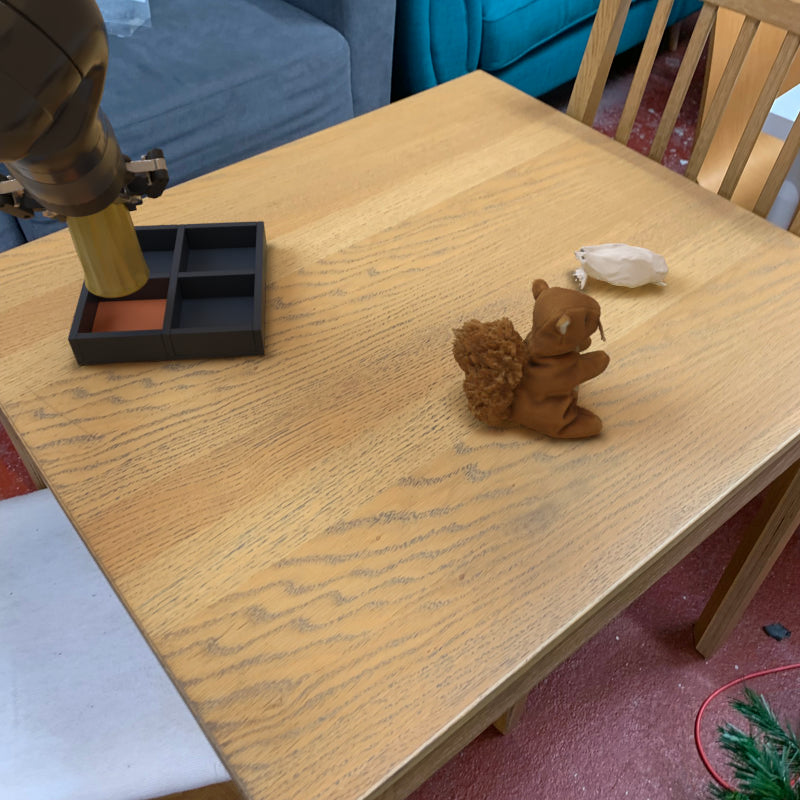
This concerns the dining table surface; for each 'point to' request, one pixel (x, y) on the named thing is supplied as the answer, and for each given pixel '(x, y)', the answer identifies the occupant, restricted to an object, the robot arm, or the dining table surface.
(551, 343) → the stuffed squirrel
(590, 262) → the bird figurine
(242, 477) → the dining table surface
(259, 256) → the grid
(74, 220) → the vase
